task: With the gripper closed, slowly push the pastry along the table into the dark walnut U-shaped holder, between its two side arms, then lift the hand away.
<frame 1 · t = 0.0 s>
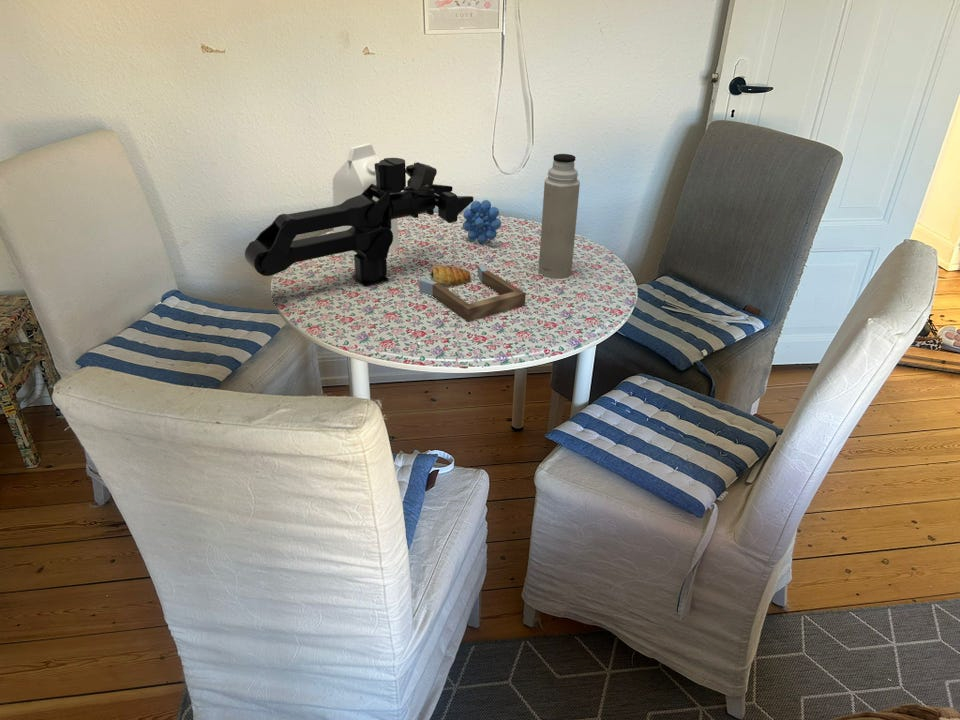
hand: (462, 193, 172), 17 cm above the table, tool horizontal, fingers open, 9 cm apart
holder: (477, 300, 160), on the table
milk: (367, 249, 185), on the table
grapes: (483, 243, 190), on the table
pastry: (447, 282, 169), on the table
thermos bottle: (554, 272, 175), on the table
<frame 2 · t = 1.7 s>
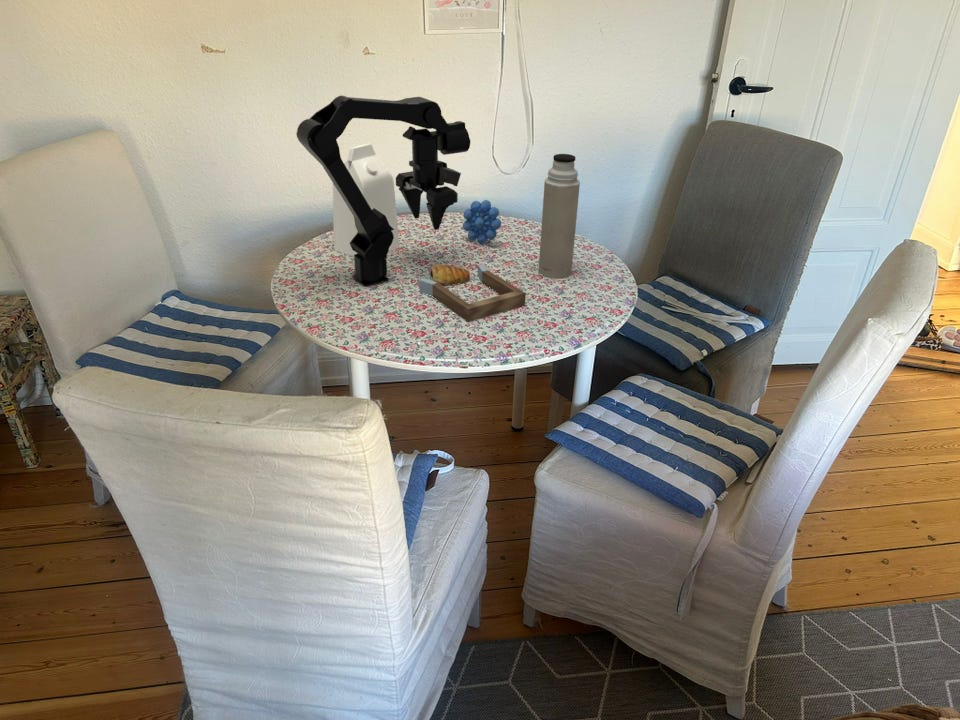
hand: (426, 223, 170), 11 cm above the table, tool pointing down, fingers open, 9 cm apart
nothing on the table moved.
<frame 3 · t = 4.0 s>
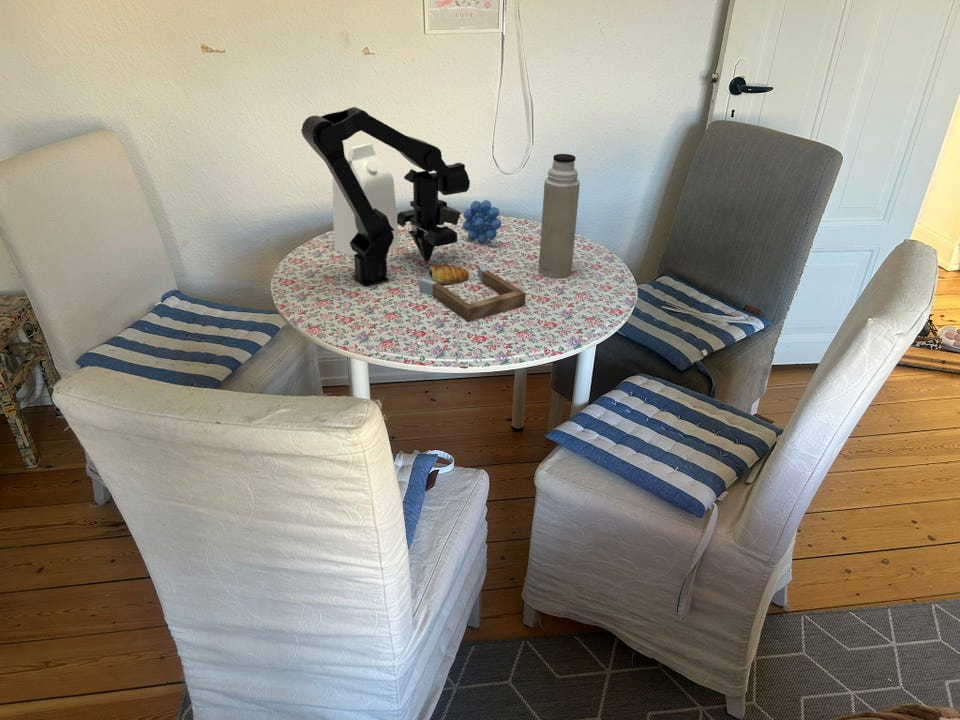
hand: (426, 260, 174), 2 cm above the table, tool pointing down, fingers closed
nothing on the table moved.
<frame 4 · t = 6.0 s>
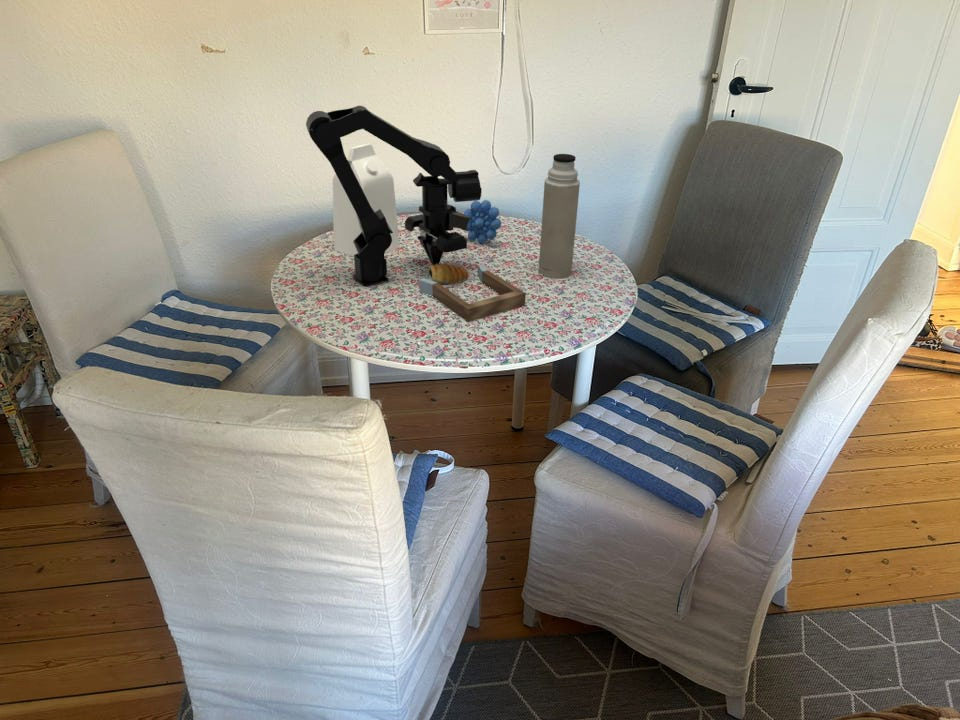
hand: (435, 266, 172), 2 cm above the table, tool pointing down, fingers closed
pastry: (445, 280, 170), on the table, touching gripper
everything else where it was.
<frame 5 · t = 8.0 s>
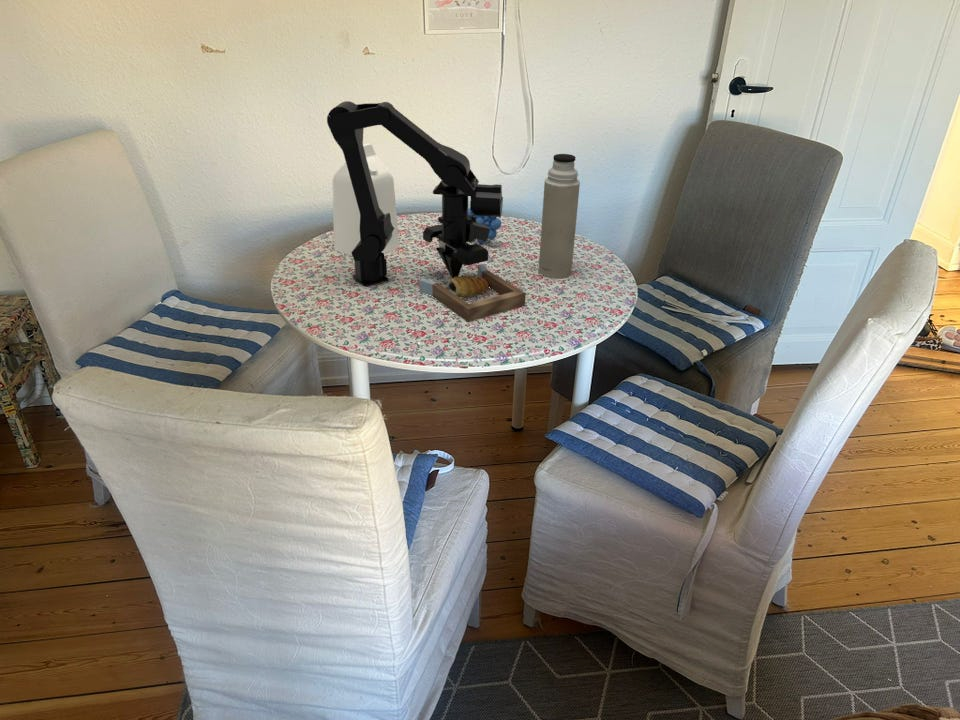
hand: (454, 279, 166), 2 cm above the table, tool pointing down, fingers closed
pastry: (466, 292, 164), on the table, touching gripper
everything else where it was.
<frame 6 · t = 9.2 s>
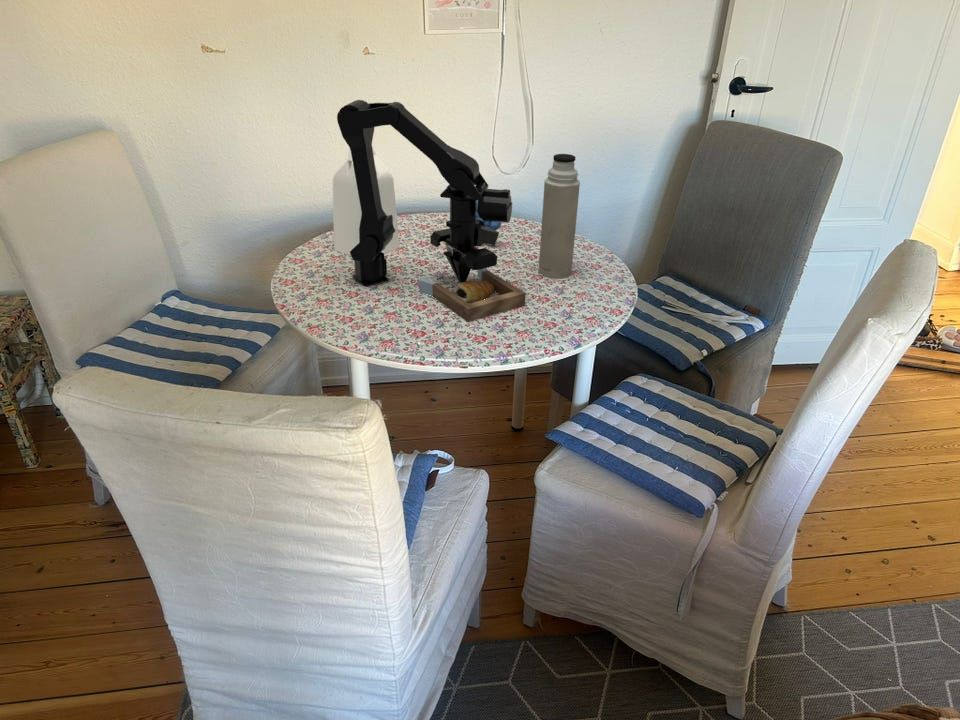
hand: (462, 283, 163), 2 cm above the table, tool pointing down, fingers closed
pastry: (473, 297, 162), on the table
everything else where it was.
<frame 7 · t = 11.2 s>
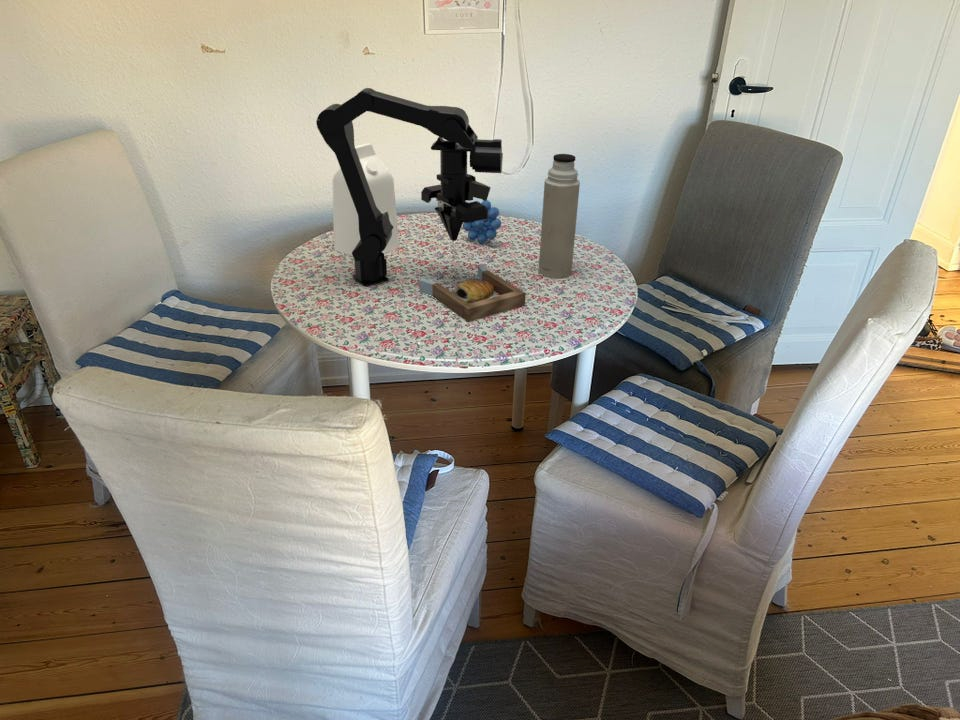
hand: (453, 240, 161), 11 cm above the table, tool pointing down, fingers closed
nothing on the table moved.
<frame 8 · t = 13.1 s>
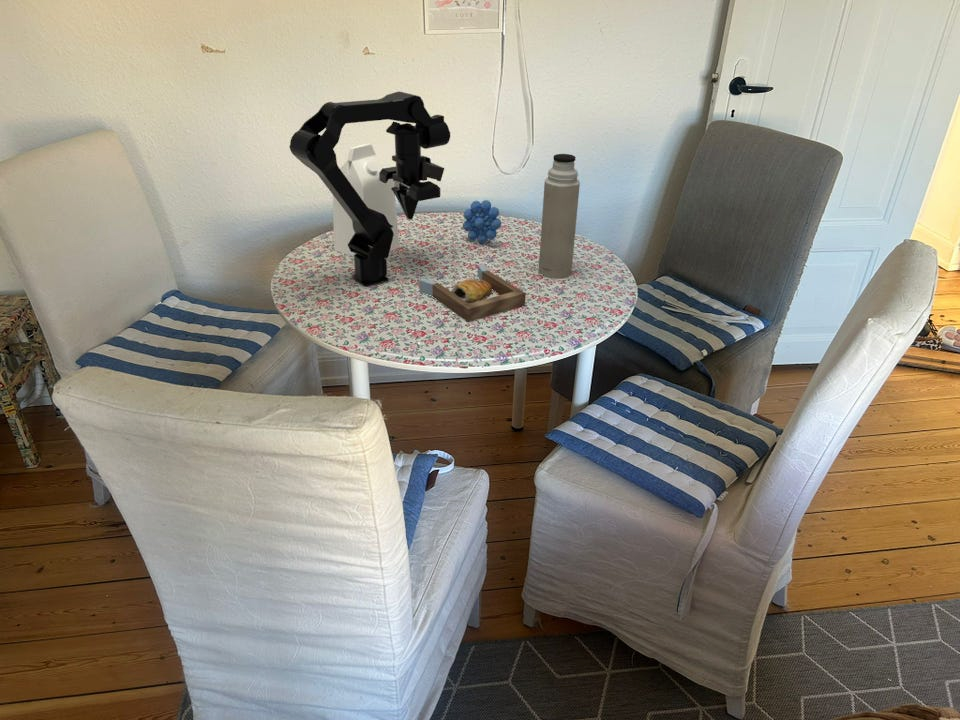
hand: (410, 218, 169), 12 cm above the table, tool pointing down, fingers closed
nothing on the table moved.
at the end: pastry 3.0 cm off-centre on the holder, point -0.5 cm above the holder's base; pastry tilted 0°; pastry moved 9.5 cm from its start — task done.
